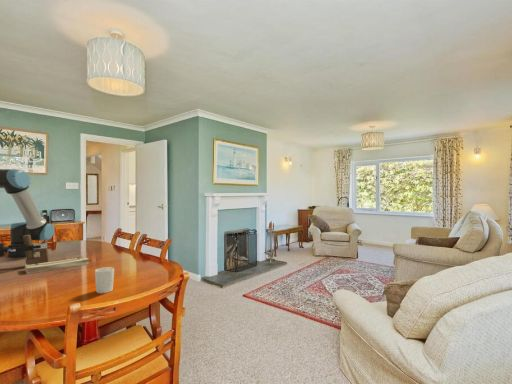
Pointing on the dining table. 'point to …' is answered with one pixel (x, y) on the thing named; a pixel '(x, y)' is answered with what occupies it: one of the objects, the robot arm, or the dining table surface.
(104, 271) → the white cup
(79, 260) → the maple board
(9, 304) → the dining table surface
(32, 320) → the dining table surface
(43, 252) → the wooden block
